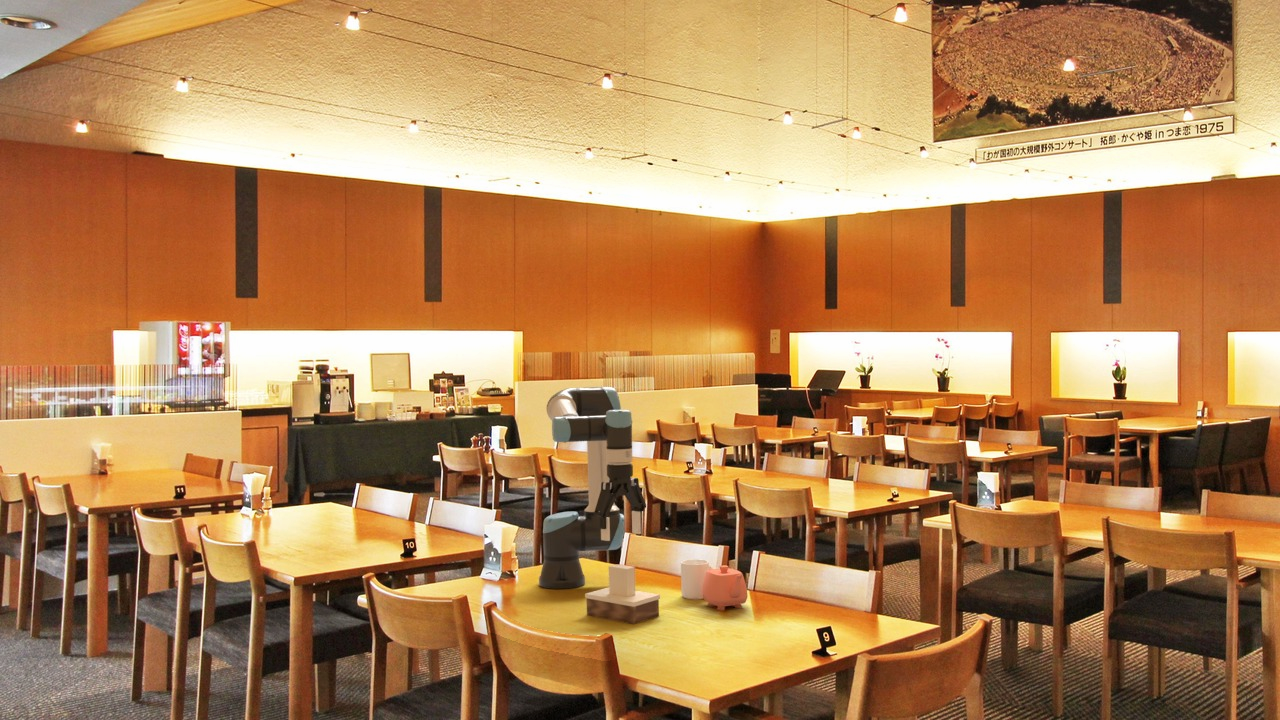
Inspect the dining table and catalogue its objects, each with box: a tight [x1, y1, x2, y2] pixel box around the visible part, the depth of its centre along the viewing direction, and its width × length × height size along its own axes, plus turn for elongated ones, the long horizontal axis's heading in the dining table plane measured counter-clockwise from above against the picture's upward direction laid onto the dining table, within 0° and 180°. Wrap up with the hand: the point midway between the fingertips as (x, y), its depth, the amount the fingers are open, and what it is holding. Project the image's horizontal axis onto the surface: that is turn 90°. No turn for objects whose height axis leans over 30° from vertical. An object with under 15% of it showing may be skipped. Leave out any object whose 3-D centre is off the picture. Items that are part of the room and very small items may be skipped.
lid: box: [584, 563, 661, 607], centre depth 307 cm, size 19×12×11 cm, turn 50°
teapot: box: [702, 564, 748, 612], centre depth 316 cm, size 20×12×12 cm, turn 25°
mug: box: [680, 558, 714, 600], centre depth 331 cm, size 9×12×11 cm
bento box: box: [586, 598, 660, 625], centre depth 307 cm, size 18×11×5 cm, turn 50°
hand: (621, 537), depth 307 cm, fingers open, 13 cm apart
